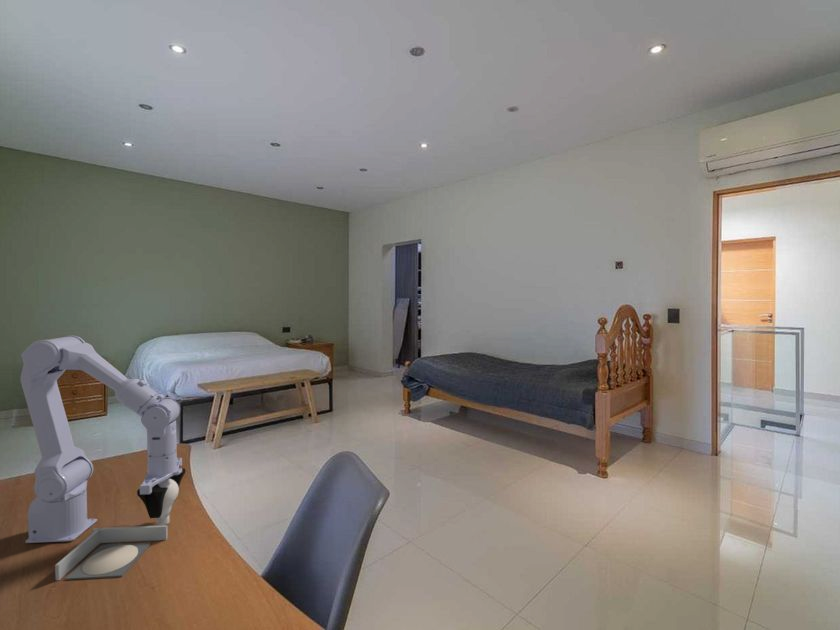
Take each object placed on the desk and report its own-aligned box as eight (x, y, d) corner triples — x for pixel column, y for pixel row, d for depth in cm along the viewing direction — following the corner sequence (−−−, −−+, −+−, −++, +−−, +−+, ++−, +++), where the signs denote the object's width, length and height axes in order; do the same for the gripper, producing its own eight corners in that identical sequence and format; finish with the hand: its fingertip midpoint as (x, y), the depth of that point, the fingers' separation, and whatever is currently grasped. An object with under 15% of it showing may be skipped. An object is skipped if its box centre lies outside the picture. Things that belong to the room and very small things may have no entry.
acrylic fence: (50, 580, 75) (49, 565, 75) (94, 541, 86) (94, 528, 86) (135, 576, 76) (135, 561, 76) (167, 538, 88) (167, 525, 88)
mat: (64, 579, 75) (64, 577, 75) (101, 546, 85) (101, 544, 85) (121, 576, 76) (121, 574, 76) (151, 543, 86) (151, 542, 86)
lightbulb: (163, 535, 89) (162, 487, 88) (139, 531, 90) (139, 484, 90) (185, 519, 95) (185, 475, 95) (163, 516, 97) (162, 472, 96)
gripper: (164, 465, 85) (165, 526, 86) (194, 440, 99) (195, 492, 100) (128, 466, 84) (130, 527, 85) (164, 440, 99) (165, 493, 99)
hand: (163, 509), depth 93 cm, fingers closed on lightbulb, 6 cm apart
